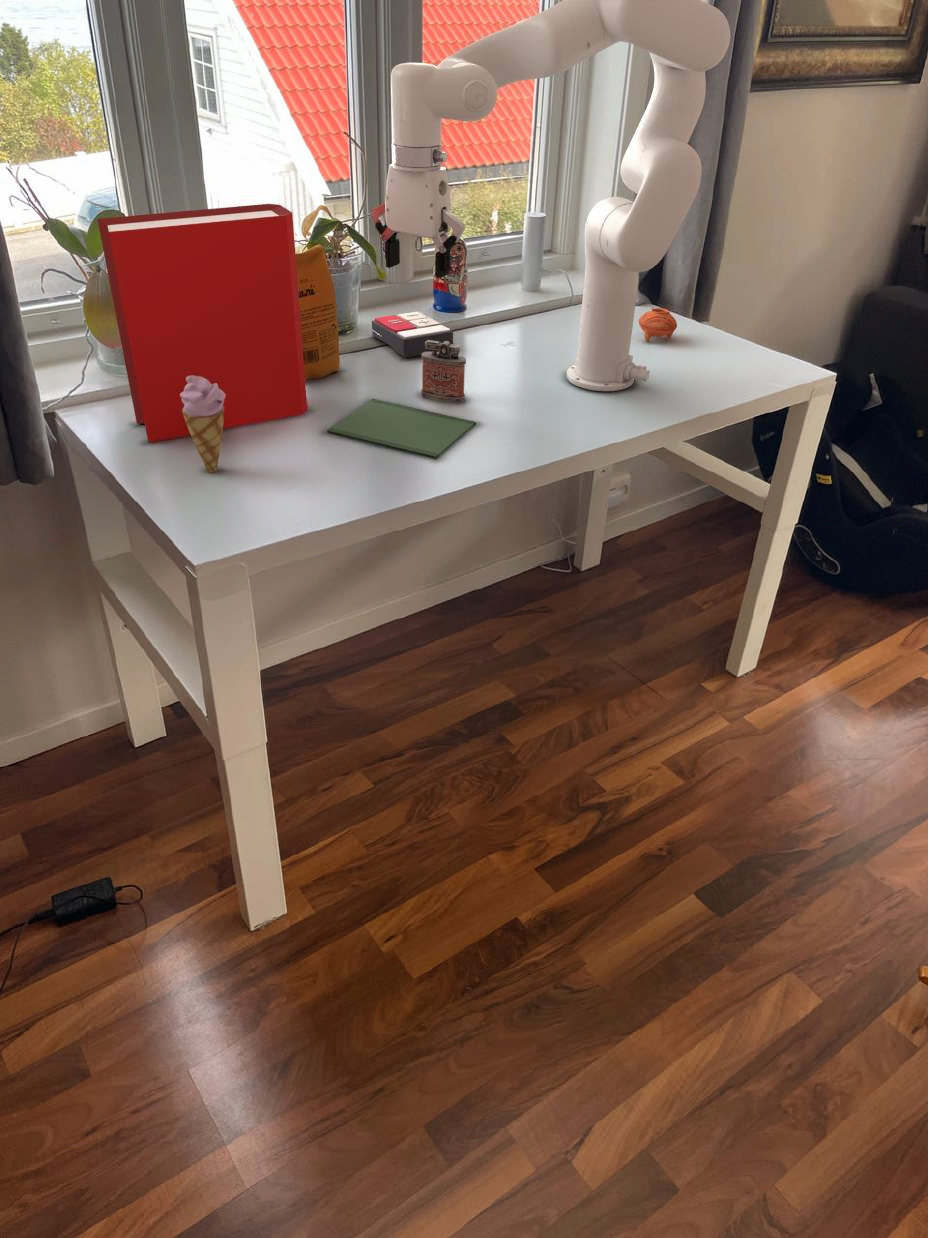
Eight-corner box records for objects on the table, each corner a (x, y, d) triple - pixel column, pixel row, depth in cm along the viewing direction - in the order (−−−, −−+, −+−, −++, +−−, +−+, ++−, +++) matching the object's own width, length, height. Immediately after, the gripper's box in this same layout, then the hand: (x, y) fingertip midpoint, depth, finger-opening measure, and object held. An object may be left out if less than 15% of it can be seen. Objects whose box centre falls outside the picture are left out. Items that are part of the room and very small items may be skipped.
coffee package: (261, 370, 175) (248, 248, 162) (318, 356, 182) (310, 237, 169) (289, 387, 169) (278, 261, 156) (346, 372, 176) (341, 250, 163)
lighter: (467, 397, 168) (468, 342, 162) (461, 404, 165) (462, 348, 159) (425, 390, 170) (425, 335, 164) (418, 397, 167) (418, 341, 161)
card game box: (418, 309, 195) (454, 327, 184) (419, 330, 197) (454, 349, 187) (370, 316, 190) (404, 335, 180) (371, 337, 193) (404, 357, 182)
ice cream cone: (195, 460, 145) (181, 366, 136) (236, 459, 145) (224, 366, 137) (189, 480, 140) (173, 383, 131) (231, 479, 140) (218, 383, 131)
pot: (627, 332, 197) (637, 300, 193) (658, 338, 200) (669, 307, 196) (644, 344, 190) (655, 311, 187) (676, 350, 193) (688, 317, 190)
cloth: (475, 423, 158) (476, 421, 158) (435, 458, 147) (435, 456, 147) (373, 400, 165) (373, 398, 165) (327, 432, 154) (327, 430, 154)
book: (148, 442, 149) (108, 231, 131) (136, 423, 155) (97, 218, 136) (310, 413, 160) (294, 214, 141) (293, 396, 166) (277, 202, 147)
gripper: (477, 159, 143) (474, 274, 153) (384, 146, 150) (387, 257, 160) (451, 167, 138) (449, 285, 148) (356, 153, 145) (361, 267, 155)
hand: (417, 270), depth 154 cm, fingers open, 9 cm apart
